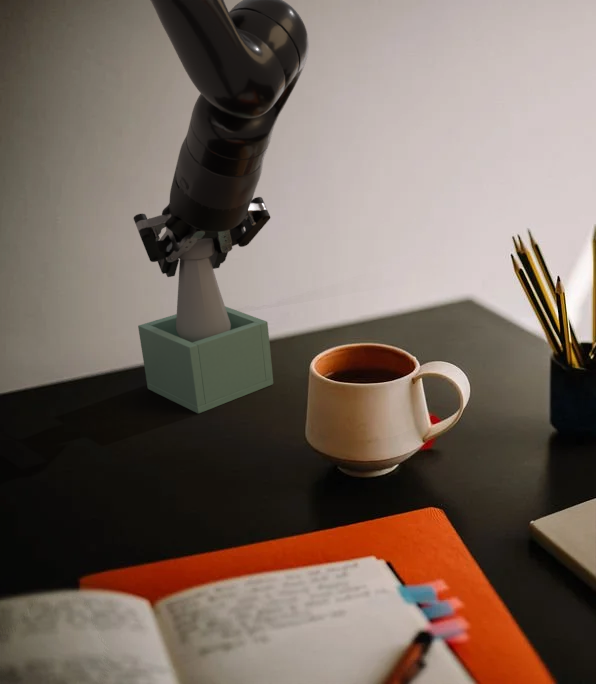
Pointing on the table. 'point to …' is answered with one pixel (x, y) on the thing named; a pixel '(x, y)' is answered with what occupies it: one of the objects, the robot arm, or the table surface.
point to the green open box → (207, 362)
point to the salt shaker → (199, 295)
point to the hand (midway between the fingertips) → (190, 265)
